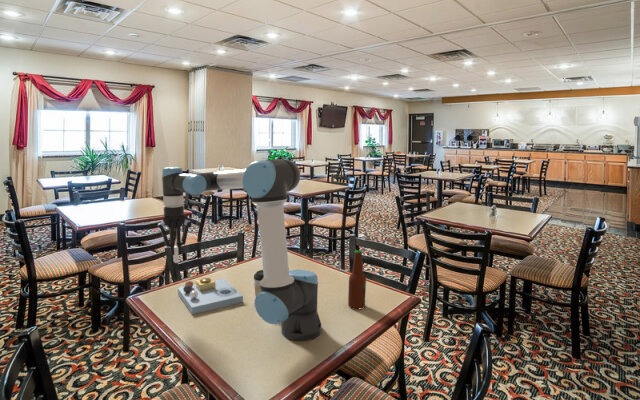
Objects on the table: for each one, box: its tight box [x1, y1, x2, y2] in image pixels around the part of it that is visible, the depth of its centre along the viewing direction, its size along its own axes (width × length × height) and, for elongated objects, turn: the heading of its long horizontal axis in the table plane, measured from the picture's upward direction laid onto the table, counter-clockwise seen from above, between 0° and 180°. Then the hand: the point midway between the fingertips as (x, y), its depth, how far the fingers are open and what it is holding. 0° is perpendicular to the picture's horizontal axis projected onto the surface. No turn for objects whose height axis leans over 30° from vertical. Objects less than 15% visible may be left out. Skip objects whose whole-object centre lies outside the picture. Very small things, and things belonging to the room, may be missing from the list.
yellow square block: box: [195, 277, 216, 291], centre depth 171 cm, size 7×7×4 cm
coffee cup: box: [253, 269, 264, 298], centre depth 160 cm, size 9×9×15 cm
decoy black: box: [183, 285, 192, 293], centre depth 165 cm, size 4×4×4 cm
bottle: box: [347, 249, 367, 310], centre depth 159 cm, size 7×7×25 cm
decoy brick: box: [184, 280, 194, 287], centre depth 170 cm, size 4×4×4 cm
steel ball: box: [190, 291, 198, 299], centre depth 159 cm, size 4×4×4 cm
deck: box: [177, 278, 244, 315], centre depth 167 cm, size 24×22×3 cm
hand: (176, 261), depth 153 cm, fingers closed
